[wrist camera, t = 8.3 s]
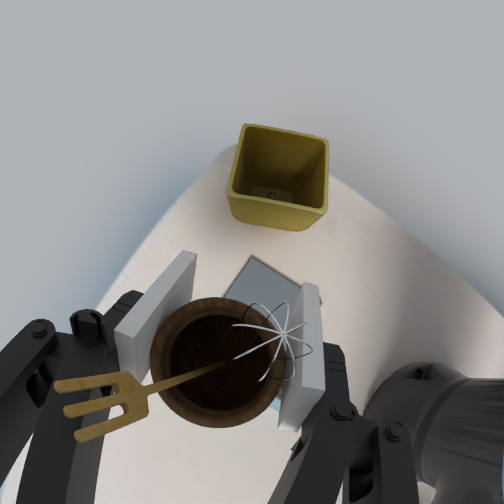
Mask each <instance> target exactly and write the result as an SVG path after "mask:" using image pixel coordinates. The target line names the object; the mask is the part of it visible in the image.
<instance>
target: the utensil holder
mask: <svg viewBox="0 0 504 504" xmlns="http://www.w3.org/2000/svg"><path fill="white" fill-rule="evenodd" d="M284 303H286V304H287V309H288V310H287V318H286V323H285V327H284V330H283V331H282V329H281V327H280V325H279V324H278V322H277V321H276V319H275V318H274V316H273V315H272V313H273V312H274V311H275V310H276V309H277V308H279V307H280V306H281V305H282V304H284ZM253 304H258V305H260V306H262V307H263V308H264V309H265V310H266V311H267V312H268V313H269V316H268V317H267V318H266V317H265V316H264V315H263V314H261V313H260V312H259V311H257V310H256V309H254V308H252V307H251V306H252V305H253ZM270 315H271V317H272V318H273V320H274V321H275V323H276V324H277V326H278V327H279V329H280V331H281V332H278V331H277V330H276V329H275V327H274V326H273V324H272V323H271V322H270V321H269V320H268V318H269V317H270ZM288 317H289V304H288V302H287V301H284V302H282V303H281V304H280V305H279V306H277V307H276V308H275V309H274V310H273V311H272V312H270V311H269V310H268V309H267V308H266V307H265V306H263V305H262V304H260V303H258V302H253V303H252V304H251V305H250V306H249V305H247V304H245V303H242V302H240V301H237V300H233V299H228V298H220V297H211V298H203V299H198V300H195V301H192V302H189V303H187V304H185V305H183V306H181V307H180V308H178V309H177V310H175V311H174V312H173V313H172V314H171V315H169V316H168V317H167V318H166V320H165V321H164V322H163V323H162V325H161V326H160V328H159V329H158V331H157V333H156V335H155V337H154V340H153V343H152V347H151V352H150V370H151V375H152V379H153V382H154V384H150V385H147V386H143V385H141V384H140V383H139V382H138V380H137V379H136V378H135V377H134V376H133V375H132V374H131V372H129V371H121V372H115V373H109V374H103V375H96V376H90V377H83V378H75V379H68V380H59V381H56V382H55V383H54V389H55V391H56V392H58V393H59V394H62V393H69V392H75V391H81V390H87V389H92V388H97V387H103V386H108V385H111V386H112V387H113V388H114V390H115V394H114V395H111V396H107V397H103V398H99V399H95V400H90V401H86V402H82V403H77V404H73V405H68V406H65V407H64V409H63V412H64V415H65V416H66V417H68V418H69V419H71V418H75V417H78V416H82V415H86V414H89V413H93V412H97V411H100V410H103V409H107V408H110V407H113V406H117V405H120V406H121V407H122V408H123V410H124V414H123V415H121V416H118V417H115V418H113V419H110V420H107V421H104V422H101V423H98V424H95V425H92V426H89V427H86V428H83V429H80V430H77V431H75V433H74V437H75V439H76V441H78V442H80V443H83V442H86V441H89V440H91V439H94V438H97V437H99V436H102V435H104V434H107V433H110V432H112V431H114V430H117V429H119V428H122V427H124V426H127V425H129V424H131V423H134V422H136V421H138V420H140V419H143V418H145V417H147V416H148V414H149V410H148V400H147V397H148V395H150V394H153V393H156V392H158V393H159V395H160V397H161V398H162V400H163V401H164V402H165V403H166V404H167V406H168V407H169V408H170V409H171V410H172V411H174V412H175V413H176V414H177V415H179V416H180V417H182V418H184V419H185V420H187V421H189V422H191V423H194V424H197V425H200V426H204V427H210V428H228V427H234V426H238V425H241V424H244V423H246V422H248V421H250V420H252V419H254V418H255V417H257V416H258V415H260V414H261V413H262V412H263V411H265V410H266V409H267V408H268V407H269V405H270V404H271V403H272V402H273V400H274V399H275V397H276V396H277V394H278V393H279V391H280V389H281V386H282V384H283V380H286V379H290V378H293V377H294V375H295V371H296V365H295V359H296V358H300V357H303V356H306V355H309V354H311V353H312V352H313V349H312V347H311V346H310V345H309V344H307V343H306V342H304V341H302V340H300V339H297V338H295V337H292V336H290V335H287V334H289V333H291V332H293V331H295V330H296V329H298V328H300V327H302V326H303V325H305V324H307V323H309V321H306V322H304V323H302V324H300V325H298V326H296V327H295V328H293V329H291V330H289V331H287V332H285V330H286V327H287V322H288ZM279 334H281V335H279ZM283 334H284V335H283ZM286 336H287V337H290V338H292V339H295V340H297V341H299V342H302V343H304V344H305V345H307V346H308V347H309V348H310V349H311V352H309V353H307V354H305V355H302V356H298V357H294V356H293V352H292V350H291V347H290V345H289V342H288V340H287V338H286ZM283 337H284V339H285V341H286V343H287V345H288V347H289V350H290V353H291V356H292V358H286V354H285V349H284V345H283V342H282V340H283ZM286 359H293V364H294V372H293V375H292V376H291V377H288V378H284V374H285V365H286Z"/></svg>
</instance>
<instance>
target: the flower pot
mask: <svg viewBox="0 0 504 504" xmlns="http://www.w3.org/2000/svg"><path fill="white" fill-rule="evenodd" d="M328 177H329V142H328V140H326V139H323V138H321V137H317V136H313V135H308V134H304V133H299V132H294V131H290V130H284V129H279V128H274V127H268V126H263V125H256V124H244V125H243V126H242V129H241V133H240V137H239V142H238V146H237V150H236V155H235V159H234V163H233V167H232V171H231V174H230V178H229V183H228V187H227V195H228V200H229V204H230V208H231V212H232V214H233V216H234V217H235V218H236V219H237V220H238V221H241V222H244V223H248V224H255V225H260V226H266V227H271V228H277V229H282V230H287V231H295V232H298V231H303V230H306V229H308V228H309V227H310V226H312V225H313V224H314V223H315V222H316V221H317V220H318V219H320V218H321V217H322V216H323V215H324V214H325V213H326V212H327V210H328ZM270 193H273V194H274V197H271V196H270V195H269V194H270Z"/></svg>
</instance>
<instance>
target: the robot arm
mask: <svg viewBox="0 0 504 504" xmlns="http://www.w3.org/2000/svg"><path fill="white" fill-rule="evenodd" d="M196 260H197V254H196V253H192V252H189V251H185V250H183V251H182V252H181V253H180V254H179V255H178V256H177V257H176V258H175V260H174V261H173V262H172V263H171V264H170V265H169V266H168V267H167V268H166V270H165V271H164V272H163V273H162V274H161V275H160V276H159V277H158V279H157V280H156V281H155V282H154V283H153V284H152V285H151V287H150V288H149V289H148V290H147V291H146V292H145V293H141V292H138V291H135V290H132V291H130V292H128V293H125V294H123V295H122V296H121V297H120V299H119V300H118V301H117V303H115V304H114V305H113V306H112V308H110V309H109V310H108V311H107V312H106V313H105V315H104V316H103V315H102V314H101V313H99V312H98V311H95V310H90V309H84V310H79V311H77V312H75V313H73V314H72V316H71V317H70V323H71V327H72V332H73V334H67V333H61V332H56V330H55V327H54V325H53V323H52V322H50V321H49V320H46V319H36V320H33V321H31V322H30V323H29V324H27V325H26V326H25V327H24V329H22V330H21V331H20V332H19V333H18V334H17V335H16V336H15V337H14V338H13V339H12V340H11V341H10V342H9V343H8V344H7V345H6V346H5V347H4V349H2V351H1V352H0V487H1V486H2V484H3V482H4V480H5V478H6V477H7V475H8V473H9V471H10V470H11V468H12V466H13V464H14V463H15V461H16V459H17V458H18V456H19V454H20V453H21V451H22V450H23V448H24V446H25V445H26V443H27V442H28V440H29V438H30V437H31V435H32V434H33V432H34V434H33V437H32V440H31V443H30V447H29V450H28V454H27V457H26V461H25V465H24V468H23V472H22V476H21V481H20V485H19V490H18V495H17V500H16V504H94V499H95V491H96V484H97V477H98V470H99V464H100V458H101V452H102V447H103V441H104V436H105V434H104V435H102V436H99V437H97V438H94V439H91V440H89V441H86V442H83V443H80V442H78V441H76V439H75V437H74V433H75V431H77V430H80V429H83V428H86V427H89V426H92V425H95V424H98V423H101V422H104V421H107V420H108V417H109V412H110V408H111V407H110V408H107V409H103V410H100V411H97V412H93V413H89V414H86V415H82V416H78V417H75V418H71V419H69V418H68V417H66V416H65V415H64V412H63V409H64V407H65V406H68V405H73V404H77V403H82V402H86V401H90V400H95V399H99V398H103V397H107V396H111V395H114V391H115V390H114V388H113V387H112V386H111V385H108V386H103V387H97V388H92V389H87V390H81V391H75V392H69V393H62V394H59V393H58V392H56V391H55V389H54V383H55V382H56V381H59V380H68V379H75V378H83V377H90V376H96V375H103V374H109V373H115V372H121V371H129V372H131V374H132V375H133V376H134V377H135V378H136V379H137V380H138V382H139V383H140V384H141V383H142V381H143V379H144V378H145V376H146V374H147V373H148V371H149V369H150V352H151V347H152V343H153V340H154V337H155V335H156V333H157V331H158V329H159V328H160V326H161V325H162V323H163V322H164V321H165V320H166V318H167V317H168V316H169V315H171V314H172V313H173V312H174V311H175V310H177V309H178V308H180V307H181V306H183V305H185V304H187V303H189V302H190V300H191V298H192V290H193V282H194V275H195V267H196ZM306 321H309V323H307V324H305V325H303V326H302V327H300V328H298V329H296V330H295V331H293V332H291V333H289V334H287V335H290V336H292V337H295V338H297V339H300V340H302V341H304V342H306V343H307V344H309V345H310V346H311V347H312V349H313V352H312V353H311V354H309V355H306V356H303V357H300V358H296V359H295V365H296V371H295V375H294V377H293V378H290V379H286V380H283V385H282V394H281V403H280V412H279V420H278V429H281V430H286V431H292V432H298V430H299V429H300V428H301V426H302V434H301V437H300V438H299V439H298V441H297V442H296V443H295V445H294V446H293V447H292V449H291V450H292V451H293V452H292V454H291V456H290V459H289V461H288V463H287V465H286V467H285V469H284V472H283V474H282V476H281V478H280V480H279V482H278V484H277V486H276V488H275V490H274V492H273V494H272V496H271V498H270V500H269V502H268V504H335V503H336V500H337V497H338V494H339V491H340V488H341V485H342V481H343V496H342V504H419V496H418V486H417V481H419V482H424V483H426V484H428V485H430V486H431V487H433V488H435V489H436V494H435V496H434V499H433V501H432V503H431V504H504V378H468V377H466V376H464V375H462V374H461V373H459V372H457V371H455V370H454V369H452V368H450V367H448V366H446V365H444V364H441V363H435V362H421V363H414V364H411V365H408V366H405V367H403V368H401V369H400V370H398V371H396V372H395V373H394V374H392V375H391V376H390V377H389V378H388V379H387V380H386V381H385V382H384V383H383V384H382V385H381V386H380V387H379V388H378V390H377V391H376V392H375V394H374V395H373V397H372V399H371V400H370V402H369V404H368V406H367V408H366V411H365V413H364V416H363V417H362V416H360V415H359V414H358V411H357V409H356V407H355V406H354V405H353V404H352V403H351V402H350V398H349V389H348V380H347V373H346V366H345V357H344V353H343V352H342V350H341V348H340V347H339V345H335V344H330V343H325V342H323V337H322V323H321V311H320V299H319V289H318V285H314V284H310V283H306V282H303V285H302V287H301V290H300V293H299V296H298V299H297V302H296V305H295V307H294V310H293V313H292V316H291V318H290V321H289V324H288V331H289V330H291V329H293V328H295V327H296V326H298V325H300V324H302V323H304V322H306ZM287 340H288V342H289V345H290V347H291V350H292V352H293V356H294V357H298V356H302V355H305V354H307V353H309V352H311V349H310V348H309V347H308V346H307V345H305V344H304V343H302V342H299V341H297V340H295V339H292V338H290V337H287ZM286 358H292V356H291V353H290V350H289V347H288V345H287V344H286ZM293 372H294V364H293V359H286V365H285V374H284V378H288V377H291V376H292V375H293Z"/></svg>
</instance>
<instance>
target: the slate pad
mask: <svg viewBox="0 0 504 504" xmlns="http://www.w3.org/2000/svg"><path fill="white" fill-rule="evenodd" d="M300 290H301V288H299V287H298V286H296V285H294V284H293V283H291V282H290V281H288V280H287V279H285V278H283V277H282V276H280V275H279V274H277V273H276V272H274V271H272V270H271V269H269V268H268V267H266V266H265V265H263V264H261V263H260V262H258V261H257V260H255V259H254V258H251V259H250V261H249V262H248V264H247V265H246V267H245V268H244V269H243V271H242V272H241V274H240V275H239V277H238V278H237V280H236V281H235V283H234V284H233V285H232V287H231V288H230V290H229V291H228V293H227V294H226V296H225V297H224V298H228V299H233V300H237V301H240V302H242V303H245V304H247V305H249V306H250V305H251V304H252V303H253V302H258V303H260V304H262V305H263V306H265V307H266V308H267V309H268V310H269V311H270V312H272V311H273V310H274V309H275V308H276V307H277V306H279V305H280V304H281V303H282V302H284V301H287V302H288V304H289V317H288V322H287V327H286V330H285V332H287V331H288V324H289V321H290V318H291V316H292V313H293V310H294V307H295V305H296V302H297V299H298V296H299V293H300ZM321 304H322V302H321V301H320V306H321ZM251 307H252V308H254V309H256V310H257V311H259V312H260V313H261V314H263V315H264V316H265V317H266V318H267V317H268V316H269V313H268V312H267V311H266V310H265V309H264V308H263V307H262V306H260V305H258V304H253V305H252V306H251ZM287 310H288V309H287V304H286V303H284V304H282V305H281V306H280V307H279V308H277V309H276V310H275V311H274V312H273V313H272V315H273V316H274V318H275V319H276V321H277V322H278V324H279V325H280V327H281V329H282V331H283V330H284V327H285V323H286V318H287ZM268 320H269V321H270V322H271V323H272V324H273V326H274V327H275V329H276V330H277V331H278V332H281V331H280V329H279V327H278V326H277V324H276V323H275V321H274V320H273V318H272V317H271V315H270V317H269V318H268ZM279 335H281V334H279ZM283 335H284V334H283ZM286 338H287V336H286ZM282 342H283V345H284V349H285V354H286V344H287V343H286V341H285V339H284V337H283V340H282Z"/></svg>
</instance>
